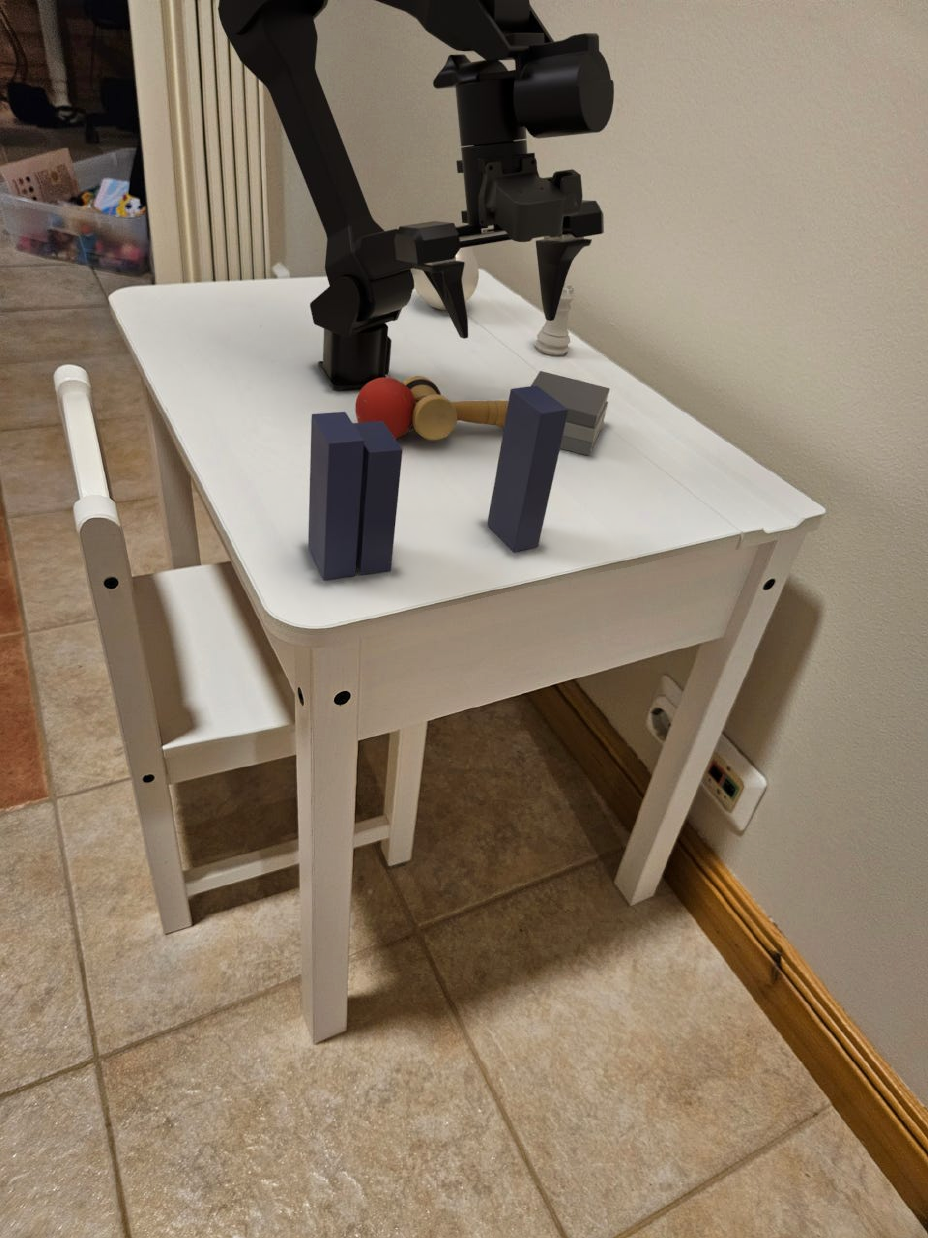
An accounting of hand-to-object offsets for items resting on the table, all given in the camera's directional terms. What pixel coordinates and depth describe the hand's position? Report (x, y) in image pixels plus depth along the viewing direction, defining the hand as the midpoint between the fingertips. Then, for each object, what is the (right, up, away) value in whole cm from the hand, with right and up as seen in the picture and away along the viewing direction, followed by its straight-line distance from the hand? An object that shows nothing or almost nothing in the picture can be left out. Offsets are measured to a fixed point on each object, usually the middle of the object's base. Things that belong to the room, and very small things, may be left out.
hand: (507, 328), depth 84 cm
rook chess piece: (+7, +7, +29) cm, 30 cm away
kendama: (-7, -9, +7) cm, 13 cm away
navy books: (-14, -23, -12) cm, 29 cm away
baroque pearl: (-7, +15, +36) cm, 39 cm away
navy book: (0, -20, -6) cm, 21 cm away
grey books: (+6, -7, +11) cm, 15 cm away
